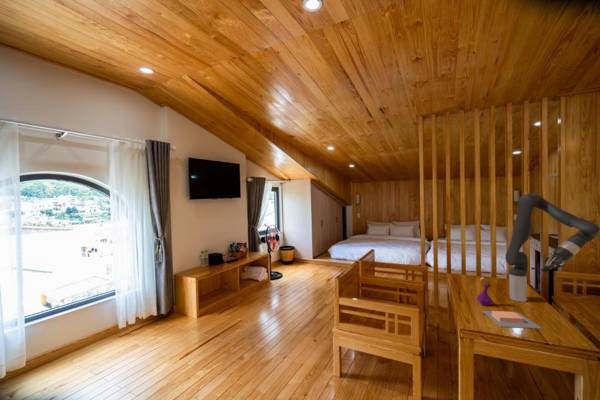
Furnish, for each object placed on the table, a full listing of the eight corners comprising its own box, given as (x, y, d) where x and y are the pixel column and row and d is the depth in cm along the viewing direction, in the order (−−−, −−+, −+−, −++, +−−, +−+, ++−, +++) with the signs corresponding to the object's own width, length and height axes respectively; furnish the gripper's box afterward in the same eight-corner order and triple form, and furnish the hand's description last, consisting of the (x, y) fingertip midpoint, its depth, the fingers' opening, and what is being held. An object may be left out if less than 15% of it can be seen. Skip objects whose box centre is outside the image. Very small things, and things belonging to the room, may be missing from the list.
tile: (514, 316, 156) (491, 315, 159) (513, 311, 157) (491, 310, 159) (523, 323, 148) (500, 321, 150) (523, 318, 148) (499, 317, 150)
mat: (482, 311, 165) (482, 311, 165) (518, 313, 161) (518, 312, 161) (500, 326, 145) (500, 326, 145) (542, 329, 141) (542, 328, 141)
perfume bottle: (489, 302, 178) (487, 276, 178) (493, 307, 171) (492, 279, 171) (476, 301, 180) (475, 275, 180) (480, 306, 173) (479, 279, 173)
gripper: (552, 244, 157) (529, 264, 159) (570, 248, 144) (545, 270, 146) (562, 252, 156) (540, 273, 158) (582, 257, 143) (557, 279, 145)
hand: (542, 271), depth 152 cm, fingers closed
